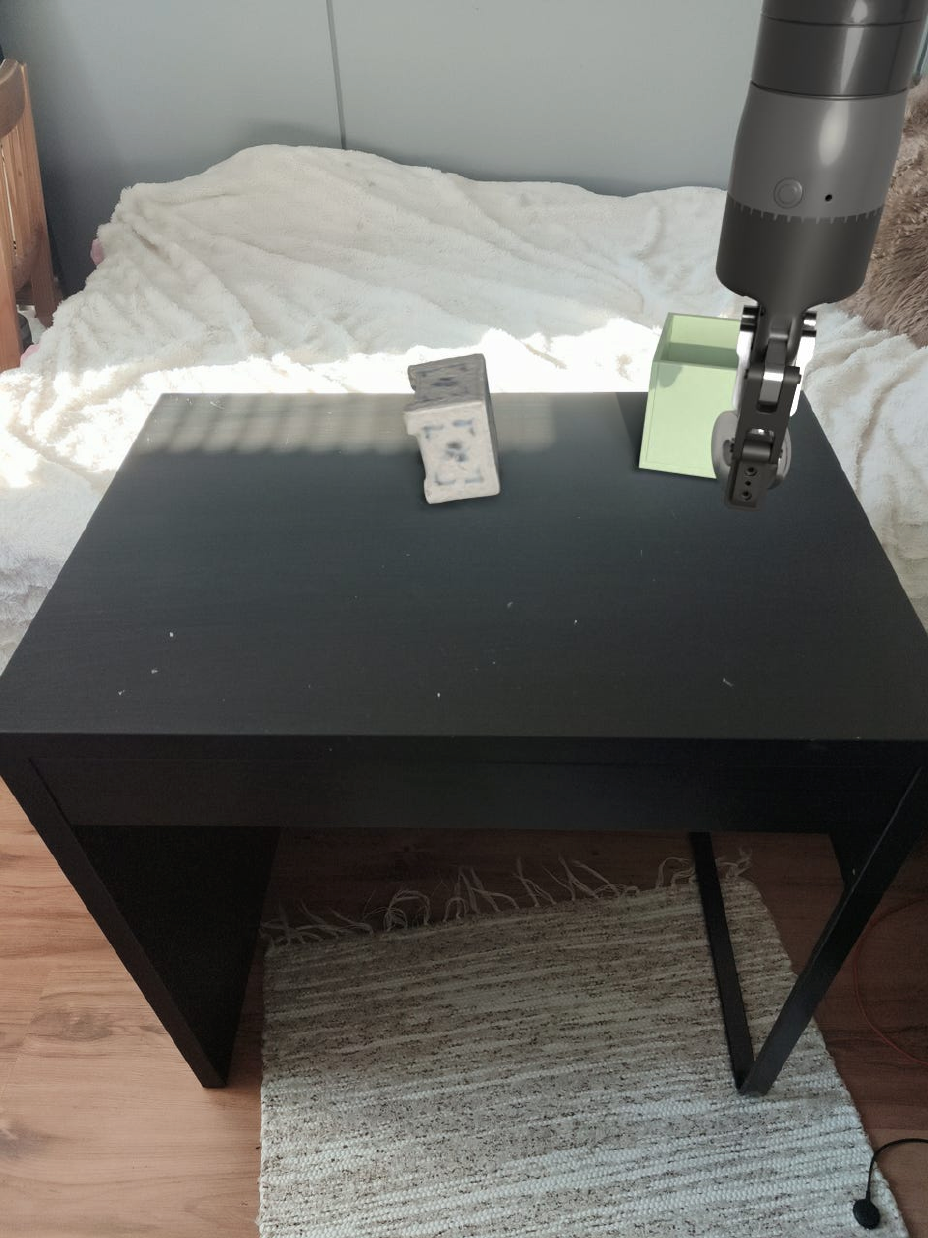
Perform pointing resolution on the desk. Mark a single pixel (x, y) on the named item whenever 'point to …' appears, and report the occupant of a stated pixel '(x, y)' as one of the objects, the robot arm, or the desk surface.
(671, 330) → the waste bin
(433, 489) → the incense holder
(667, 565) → the desk surface
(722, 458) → the metal grooved wheel
